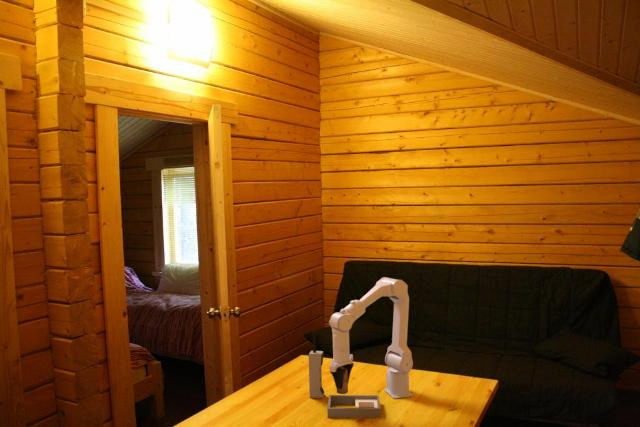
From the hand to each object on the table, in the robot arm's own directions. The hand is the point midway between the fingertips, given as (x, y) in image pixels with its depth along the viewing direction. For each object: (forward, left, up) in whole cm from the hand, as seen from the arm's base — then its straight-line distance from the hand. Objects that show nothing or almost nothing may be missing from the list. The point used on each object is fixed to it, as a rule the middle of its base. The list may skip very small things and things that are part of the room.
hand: (342, 385), depth 182 cm
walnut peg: (0, 0, -2) cm, 2 cm away
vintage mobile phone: (-15, -5, -9) cm, 18 cm away
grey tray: (+1, +4, -9) cm, 9 cm away
